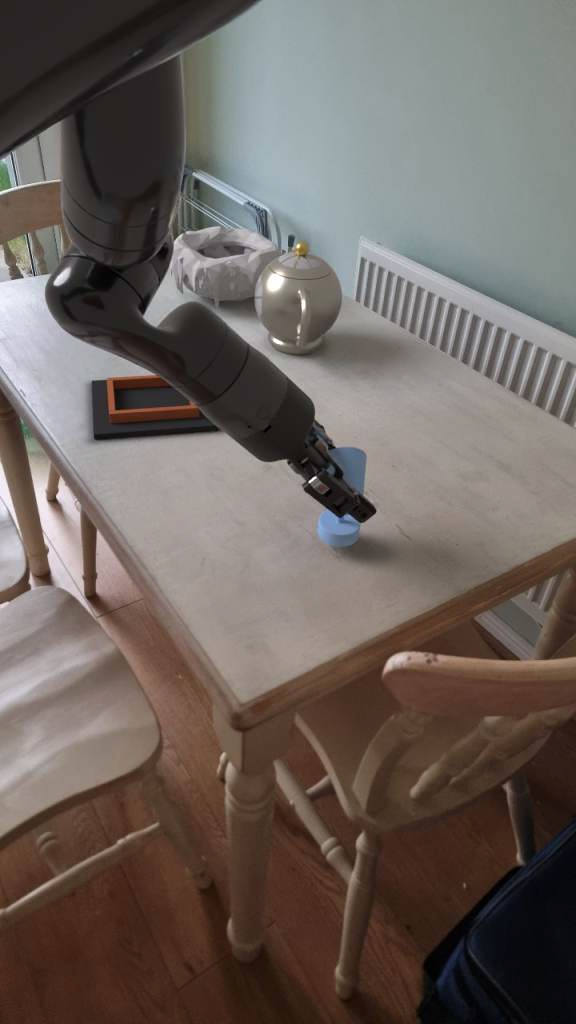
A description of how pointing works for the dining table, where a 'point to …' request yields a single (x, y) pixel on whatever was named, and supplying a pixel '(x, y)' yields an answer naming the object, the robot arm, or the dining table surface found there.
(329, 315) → the teapot
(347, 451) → the spotlight
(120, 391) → the pad
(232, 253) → the bowl
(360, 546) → the dining table surface
